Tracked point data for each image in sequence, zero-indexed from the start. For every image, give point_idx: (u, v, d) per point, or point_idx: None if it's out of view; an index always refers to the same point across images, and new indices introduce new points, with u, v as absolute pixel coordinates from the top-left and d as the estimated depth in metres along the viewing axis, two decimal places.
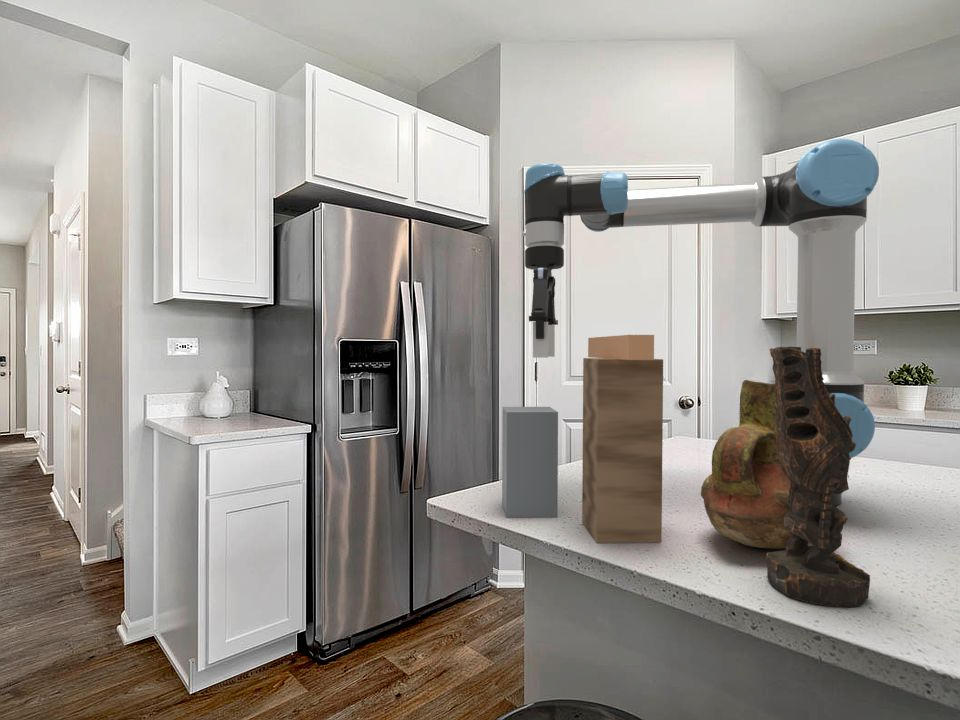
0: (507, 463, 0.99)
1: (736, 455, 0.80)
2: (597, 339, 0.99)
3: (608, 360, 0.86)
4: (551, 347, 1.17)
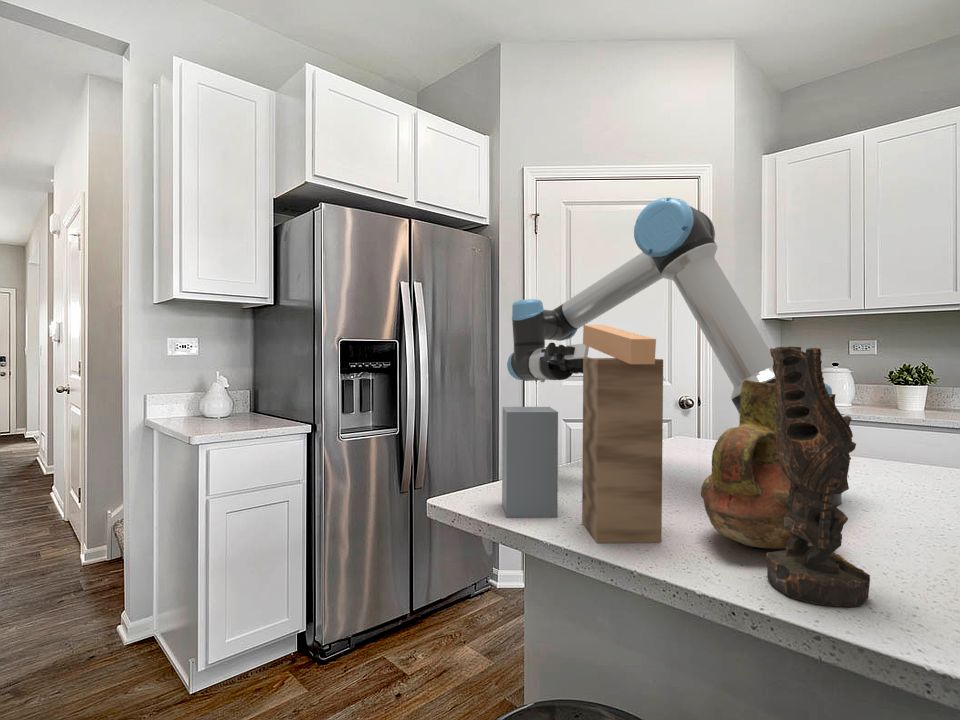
0: (507, 463, 0.99)
1: (736, 455, 0.80)
2: (594, 330, 0.99)
3: (608, 360, 0.86)
4: None
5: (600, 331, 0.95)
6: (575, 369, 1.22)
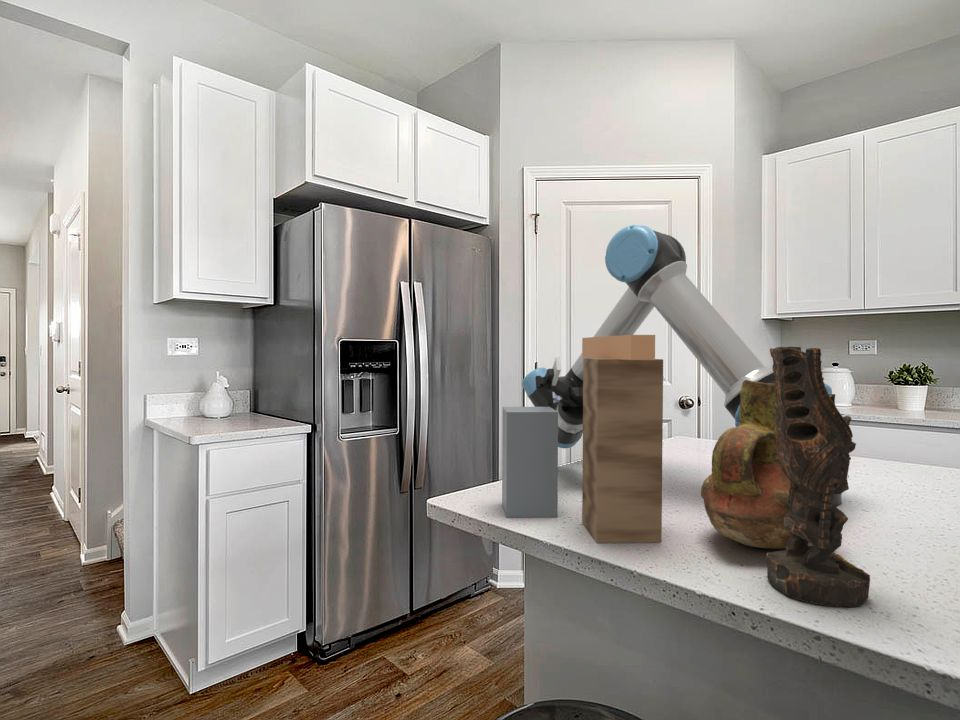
0: (507, 463, 0.99)
1: (736, 455, 0.80)
2: (593, 339, 0.99)
3: (608, 360, 0.86)
4: None
5: (599, 338, 0.96)
6: None
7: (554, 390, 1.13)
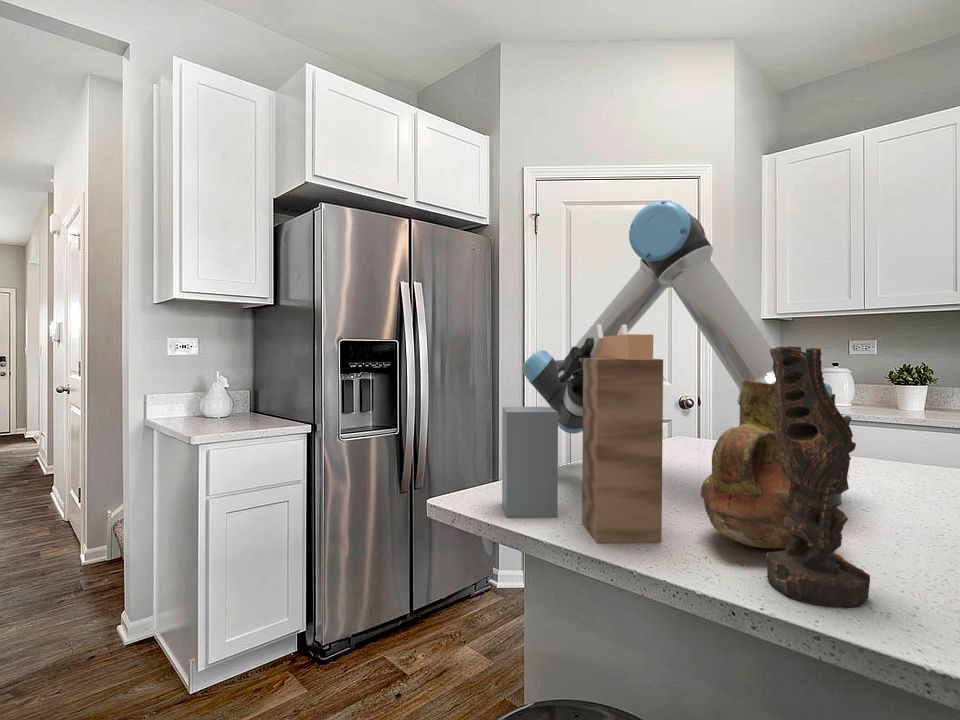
0: (507, 463, 0.99)
1: (736, 455, 0.80)
2: None
3: (608, 360, 0.86)
4: (619, 333, 0.98)
5: None
6: None
7: None
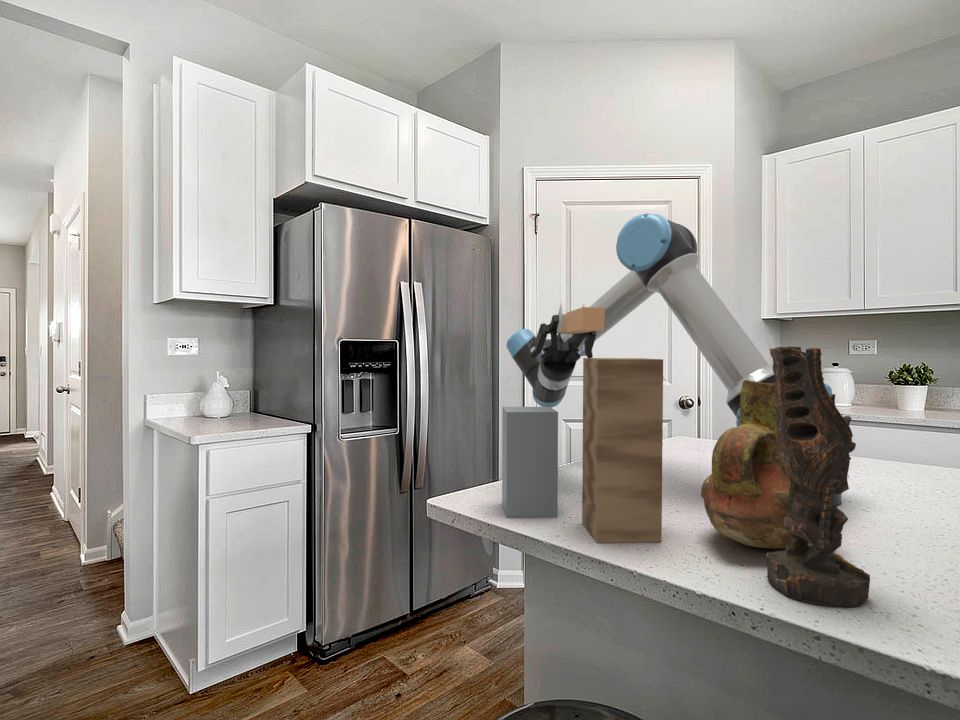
0: (507, 463, 0.99)
1: (736, 455, 0.80)
2: None
3: (608, 360, 0.86)
4: None
5: (566, 314, 1.06)
6: (565, 356, 1.20)
7: (553, 339, 1.14)
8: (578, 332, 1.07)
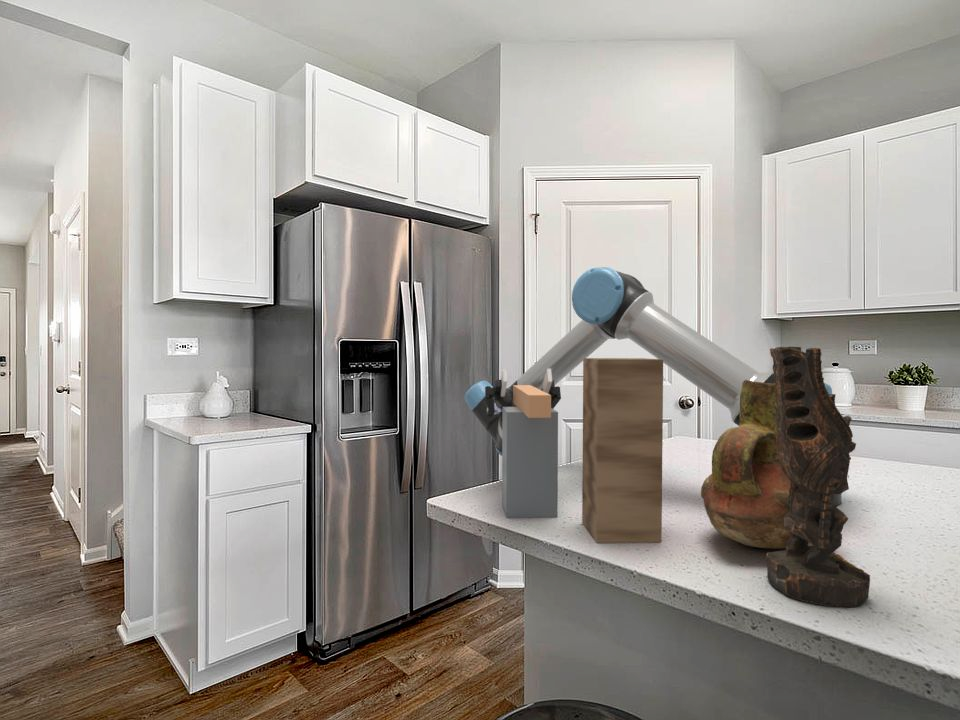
0: (507, 463, 0.99)
1: (736, 455, 0.80)
2: (516, 389, 1.09)
3: (608, 360, 0.86)
4: (546, 376, 1.08)
5: (518, 390, 1.06)
6: None
7: (501, 401, 1.14)
8: None
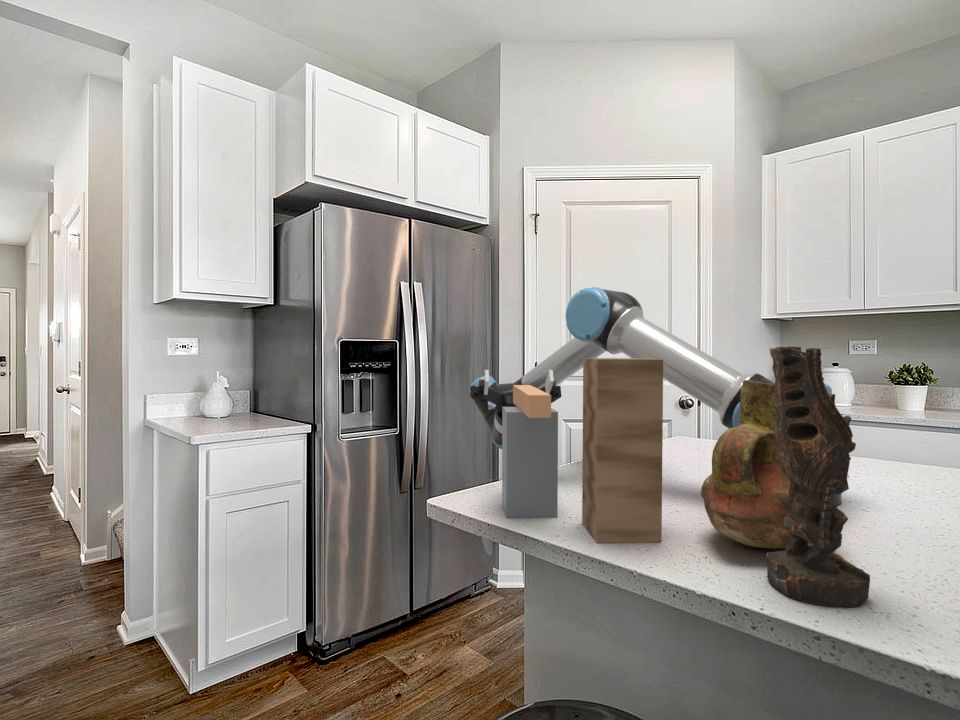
0: (507, 463, 0.99)
1: (736, 455, 0.80)
2: (516, 389, 1.09)
3: (608, 360, 0.86)
4: (548, 376, 1.22)
5: (518, 390, 1.06)
6: None
7: (487, 398, 1.26)
8: None
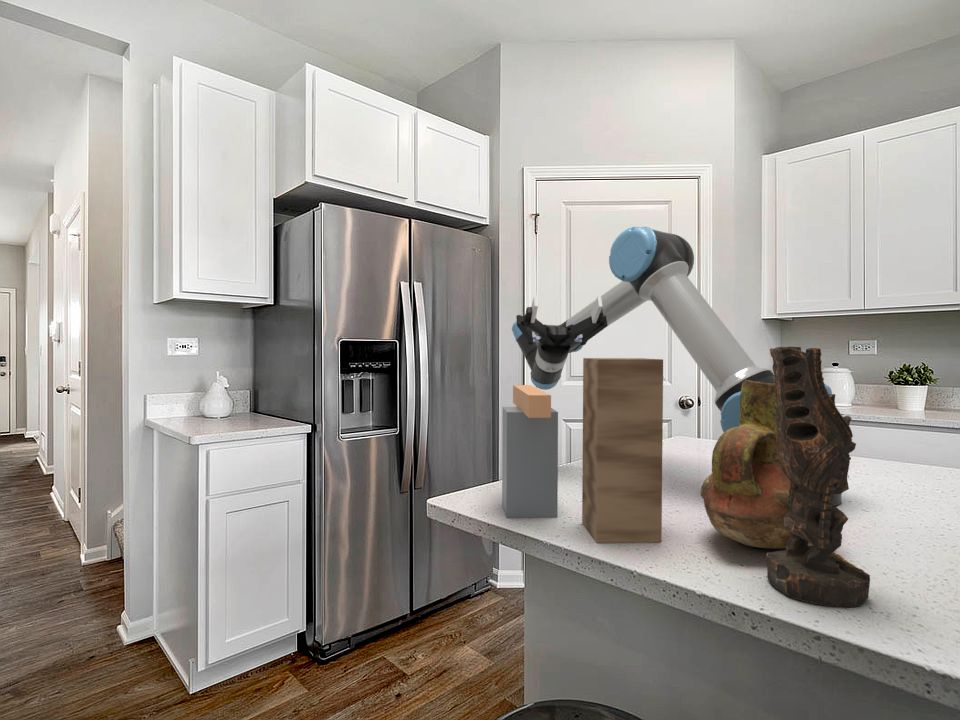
0: (507, 463, 0.99)
1: (736, 455, 0.80)
2: (516, 389, 1.09)
3: (608, 360, 0.86)
4: (595, 303, 1.22)
5: (518, 390, 1.06)
6: (563, 339, 1.31)
7: (533, 328, 1.27)
8: None
